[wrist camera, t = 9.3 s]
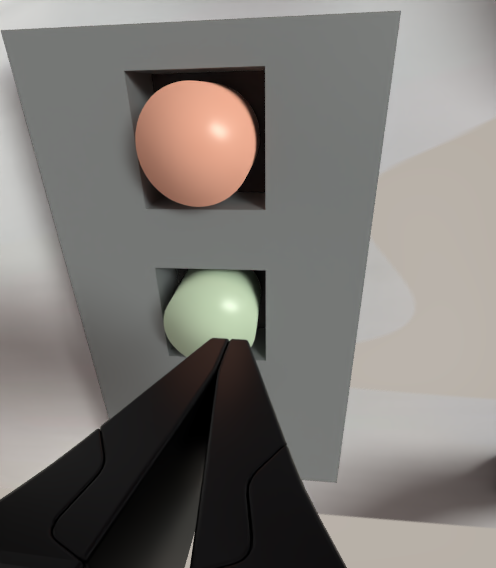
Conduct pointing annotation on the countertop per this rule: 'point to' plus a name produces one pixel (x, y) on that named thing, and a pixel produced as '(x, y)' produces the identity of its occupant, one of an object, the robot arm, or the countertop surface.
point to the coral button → (197, 141)
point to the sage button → (213, 308)
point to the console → (227, 214)
